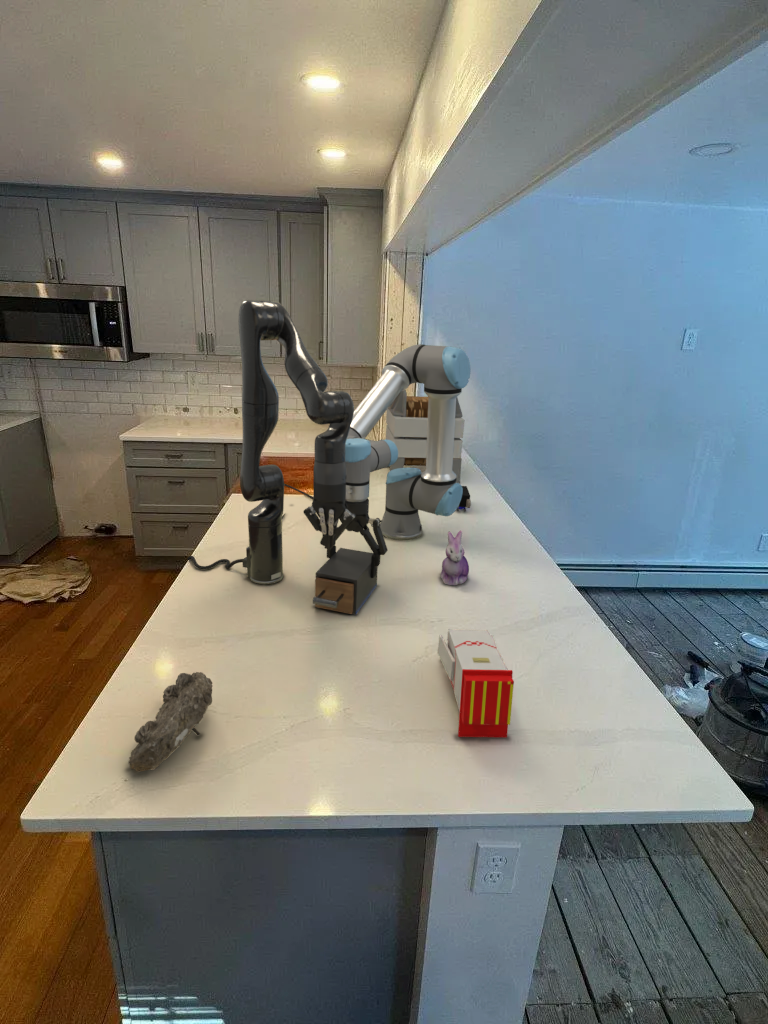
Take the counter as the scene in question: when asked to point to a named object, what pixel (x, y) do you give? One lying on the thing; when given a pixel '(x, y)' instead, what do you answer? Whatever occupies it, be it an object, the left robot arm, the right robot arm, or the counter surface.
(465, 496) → the figurine character
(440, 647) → the toy
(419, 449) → the slatted crate
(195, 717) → the fossil
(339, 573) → the cabinet
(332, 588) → the drawer
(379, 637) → the counter surface
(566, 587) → the counter surface
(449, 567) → the figurine
